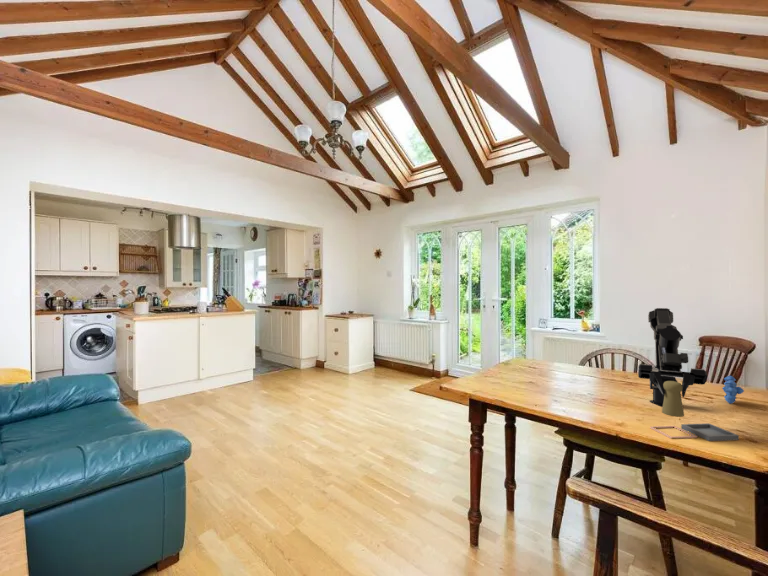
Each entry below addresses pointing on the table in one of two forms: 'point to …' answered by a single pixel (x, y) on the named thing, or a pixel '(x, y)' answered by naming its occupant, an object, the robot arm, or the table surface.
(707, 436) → the lower port socket
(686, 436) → the frame
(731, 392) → the grapes
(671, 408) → the cork
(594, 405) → the table surface
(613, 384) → the table surface
